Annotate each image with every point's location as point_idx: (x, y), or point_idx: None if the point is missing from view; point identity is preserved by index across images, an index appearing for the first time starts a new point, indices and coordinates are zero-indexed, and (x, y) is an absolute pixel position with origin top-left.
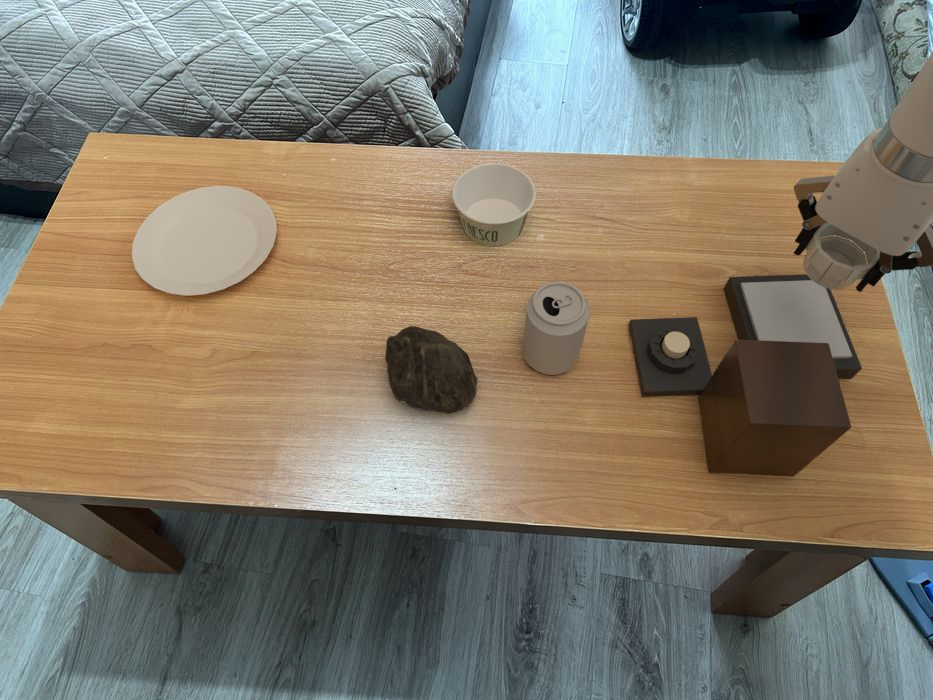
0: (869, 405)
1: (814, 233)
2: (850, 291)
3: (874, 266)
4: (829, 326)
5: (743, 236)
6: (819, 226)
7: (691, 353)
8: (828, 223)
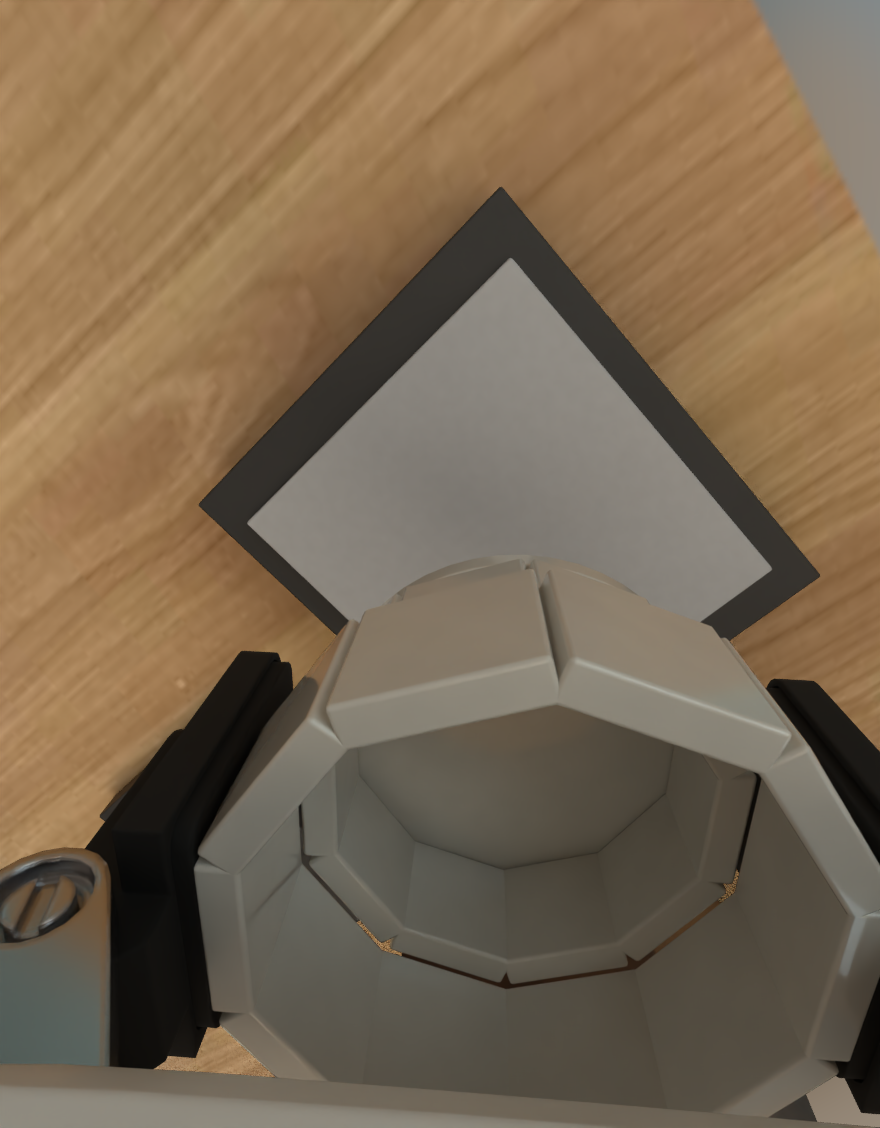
0: (869, 606)
1: (212, 1018)
2: (643, 116)
3: (859, 1062)
4: (642, 495)
5: (107, 154)
6: (192, 931)
7: (305, 866)
8: (233, 853)
